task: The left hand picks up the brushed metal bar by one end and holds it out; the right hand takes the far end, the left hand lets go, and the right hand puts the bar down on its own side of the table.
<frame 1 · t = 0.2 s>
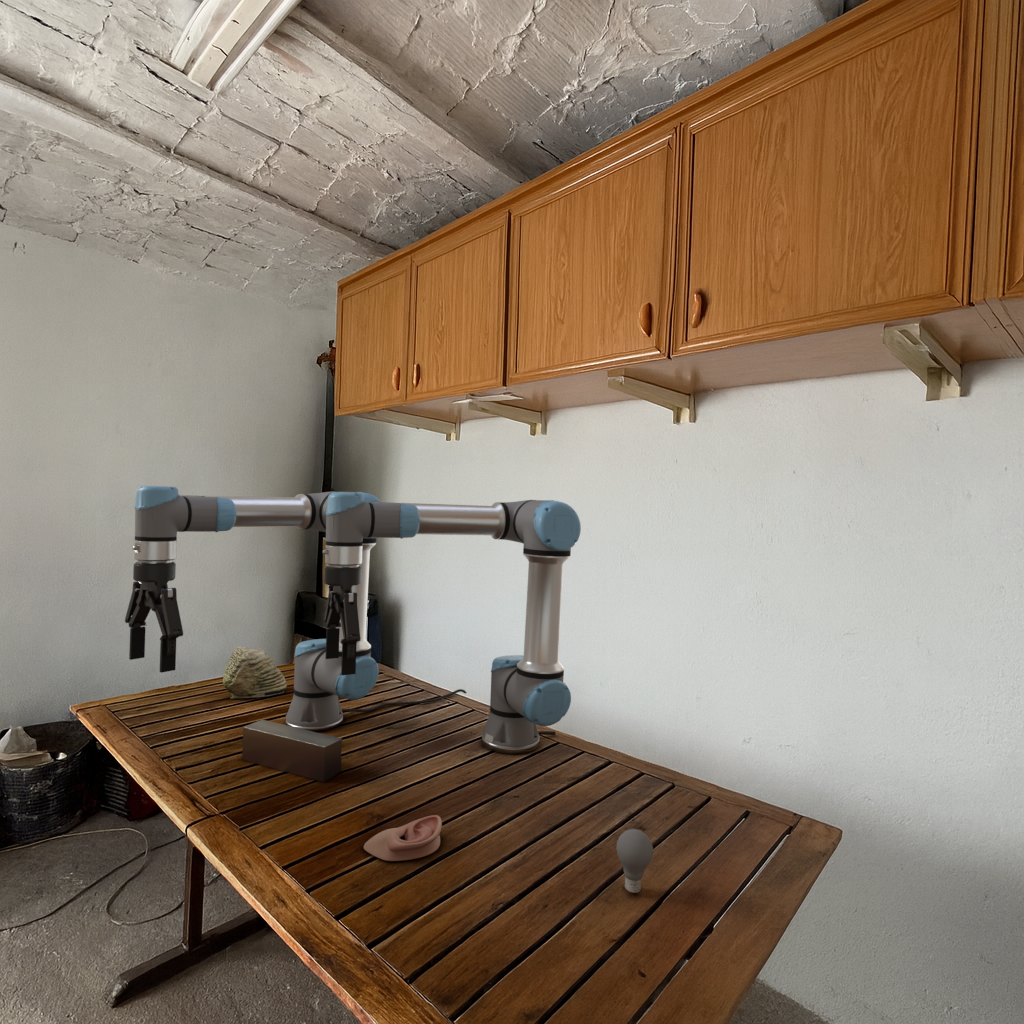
left hand: (151, 664, 130), 27 cm above the table, tool pointing down, fingers open, 13 cm apart
right hand: (339, 666, 134), 28 cm above the table, tool pointing down, fingers open, 13 cm apart
fossil: (254, 694, 198), on the table
bar: (290, 765, 148), on the table
light bulb: (632, 891, 106), on the table
anatomical model: (403, 845, 116), on the table
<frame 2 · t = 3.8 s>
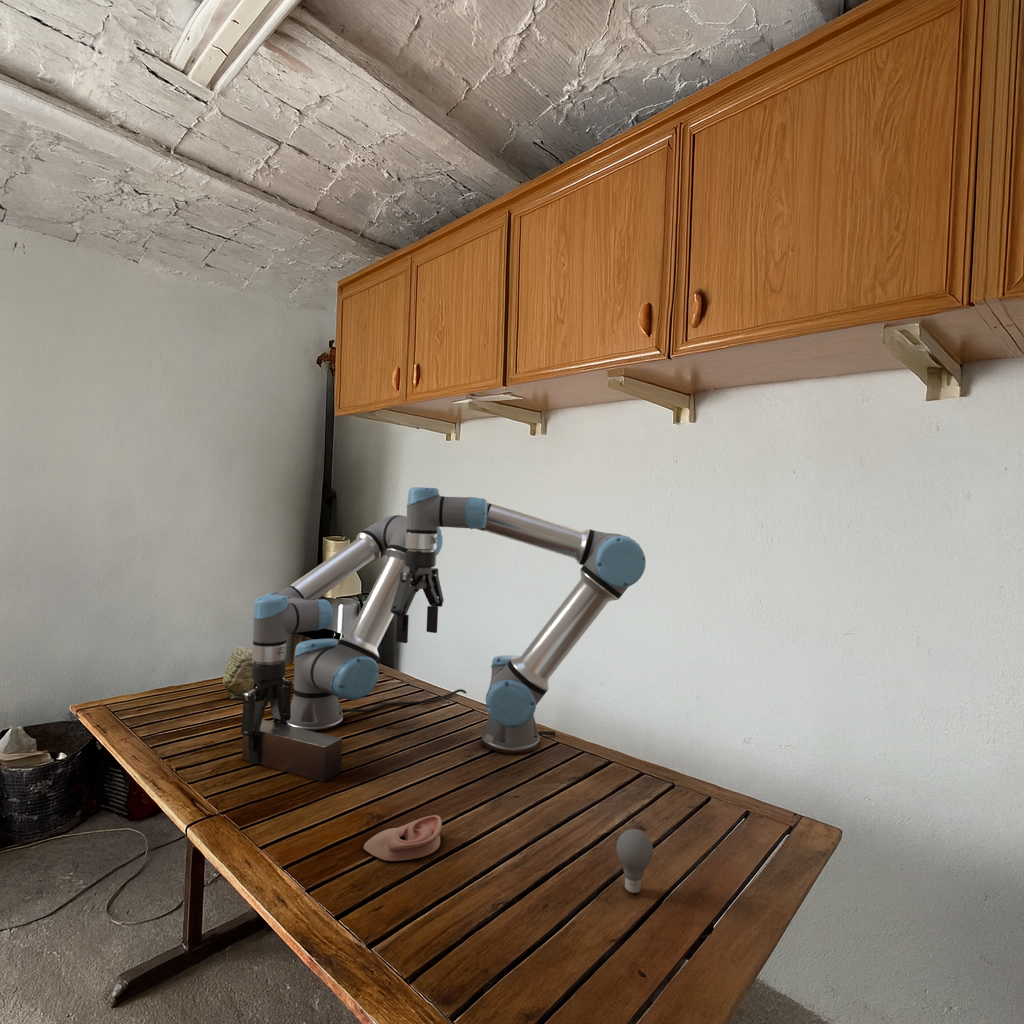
left hand: (265, 757, 151), 0 cm above the table, tool pointing down, fingers closed on bar, 6 cm apart
right hand: (417, 637, 155), 30 cm above the table, tool pointing down, fingers open, 13 cm apart
bar: (290, 765, 148), on the table, touching left hand
everything else where it was.
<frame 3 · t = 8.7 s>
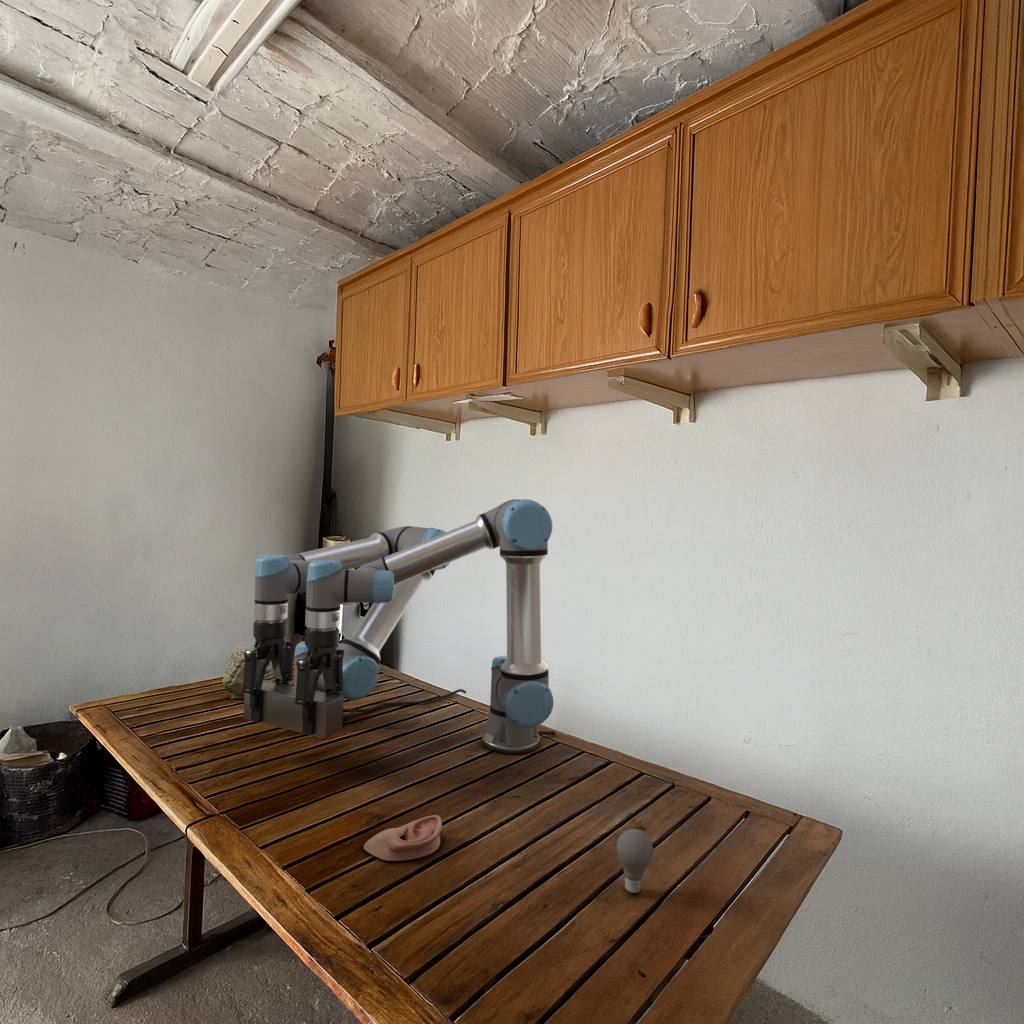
left hand: (267, 716, 151), 10 cm above the table, tool pointing down, fingers closed on bar, 6 cm apart
right hand: (318, 728, 145), 10 cm above the table, tool pointing down, fingers closed on bar, 6 cm apart
bar: (292, 724, 148), point 10 cm above the table, touching left hand, right hand
everything else where it was.
when the left hand's fingers open (10 cm above the table, at t = 9.4 s): bar stays where it is, held by the right hand.
when the right hand's fingers open (2 cm above the table, at t = 16.0 s): bar drops 2 cm, on the table.
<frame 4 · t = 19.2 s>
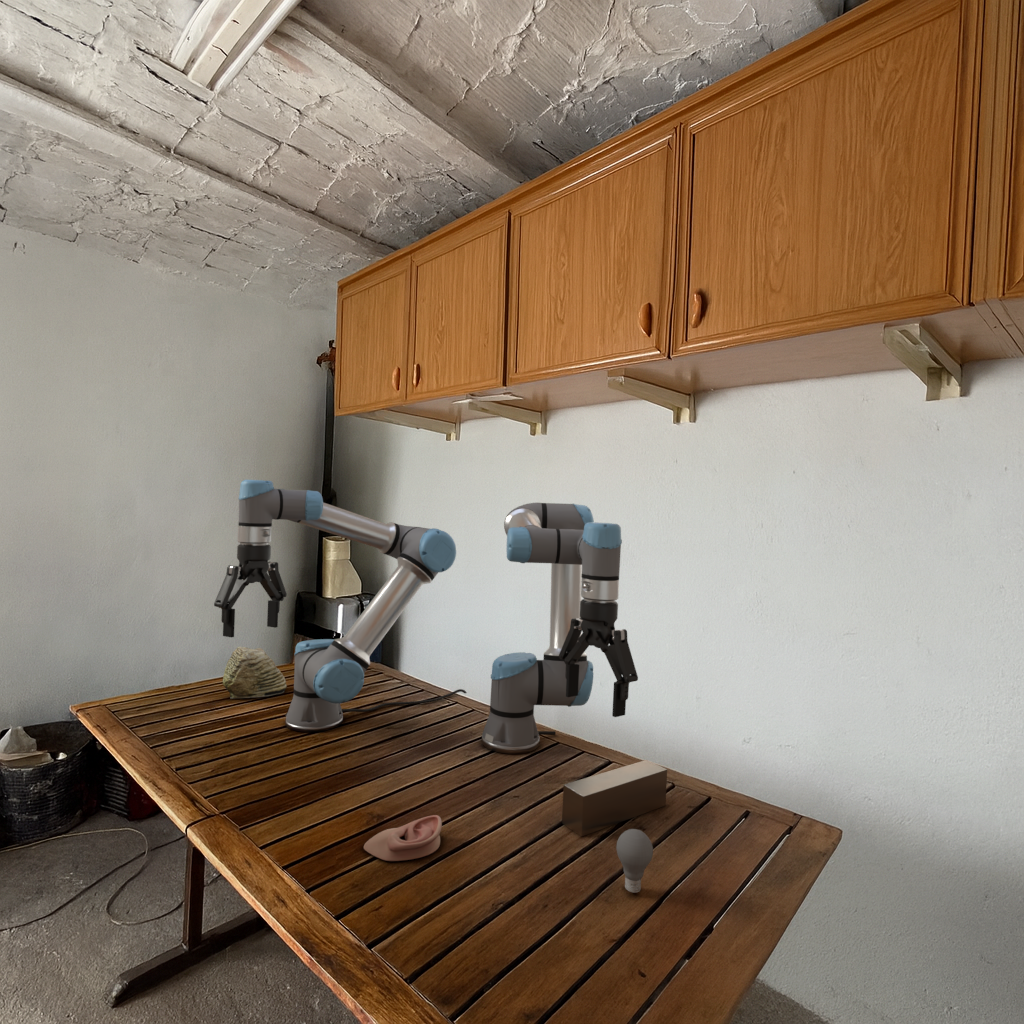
left hand: (251, 631, 153), 30 cm above the table, tool pointing down, fingers open, 13 cm apart
right hand: (594, 705, 127), 24 cm above the table, tool pointing down, fingers open, 13 cm apart
bar: (615, 814, 132), on the table
everything else where it was.
at the end: bar inside the target area (7.7 cm from its centre), on the table; the left hand is holding nothing; the right hand is holding nothing; bar at rest at the end (0.0 cm/s) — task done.
